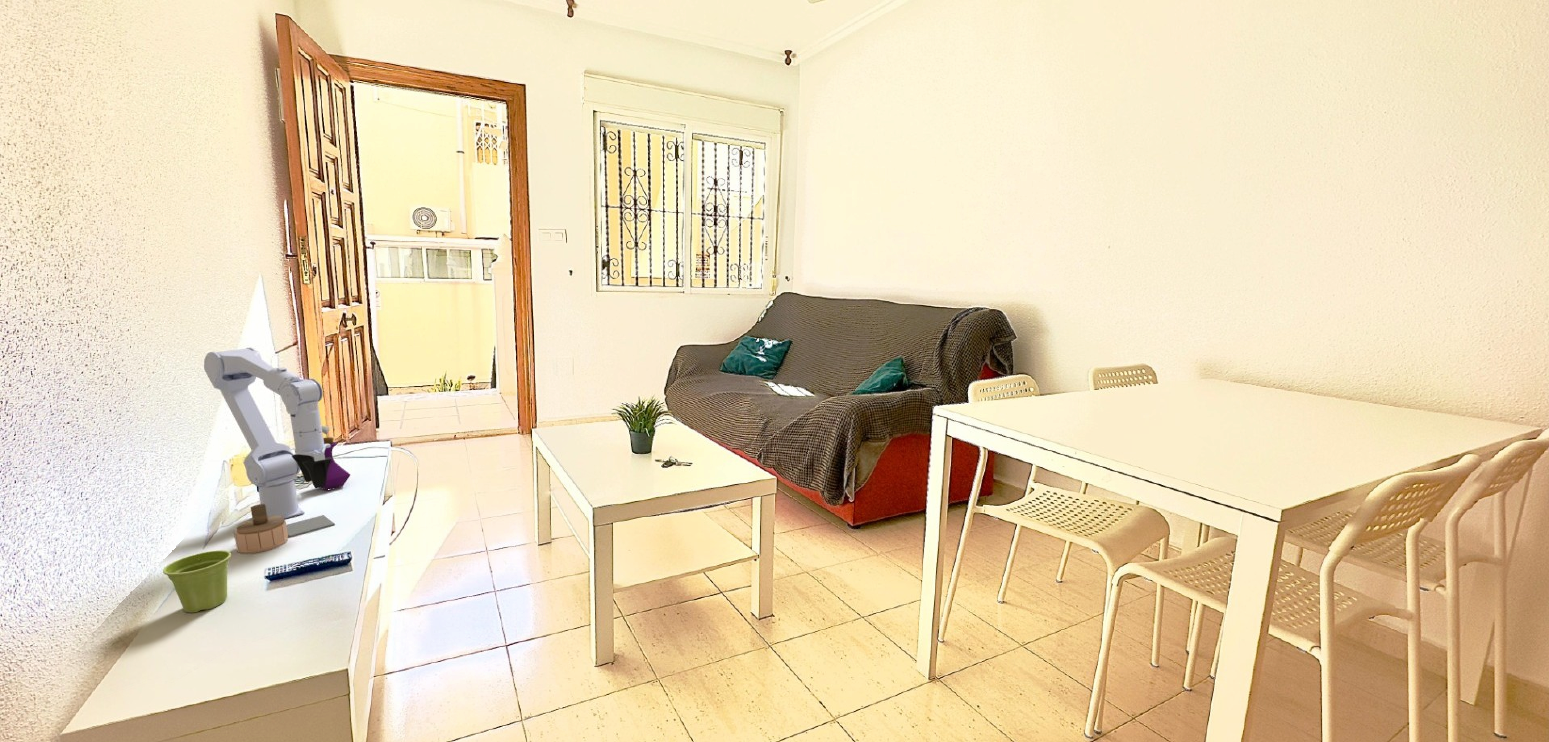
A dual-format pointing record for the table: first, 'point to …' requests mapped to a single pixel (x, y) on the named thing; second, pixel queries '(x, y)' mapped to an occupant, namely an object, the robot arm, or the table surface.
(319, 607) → the table surface
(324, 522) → the mat
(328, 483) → the perfume bottle
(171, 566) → the plant pot
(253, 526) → the lid
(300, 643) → the table surface
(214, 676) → the table surface
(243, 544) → the peach cylinder
